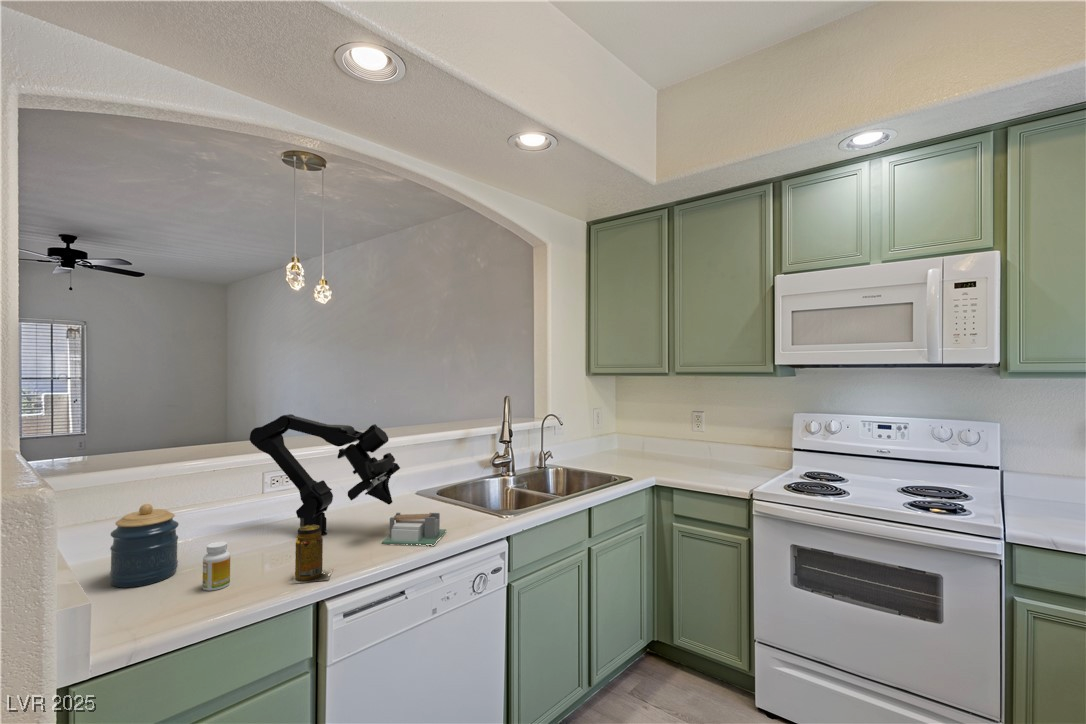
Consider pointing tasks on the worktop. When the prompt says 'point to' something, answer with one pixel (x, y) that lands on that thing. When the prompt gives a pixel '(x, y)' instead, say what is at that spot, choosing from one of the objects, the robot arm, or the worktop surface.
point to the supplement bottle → (216, 567)
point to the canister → (144, 548)
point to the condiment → (309, 555)
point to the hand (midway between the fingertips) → (390, 503)
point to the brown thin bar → (411, 516)
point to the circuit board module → (415, 531)
